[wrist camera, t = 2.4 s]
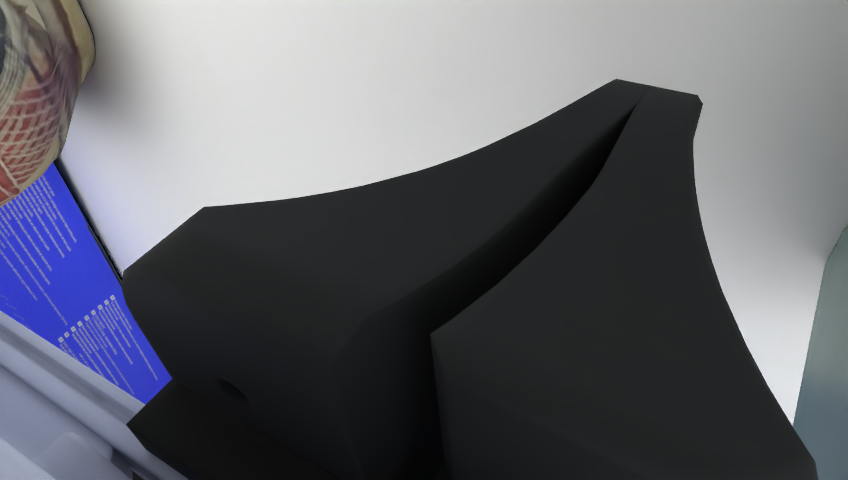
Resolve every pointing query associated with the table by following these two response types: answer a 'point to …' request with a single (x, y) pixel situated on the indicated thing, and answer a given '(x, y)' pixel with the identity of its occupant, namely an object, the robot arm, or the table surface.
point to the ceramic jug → (38, 85)
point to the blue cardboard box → (71, 288)
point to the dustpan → (828, 373)
